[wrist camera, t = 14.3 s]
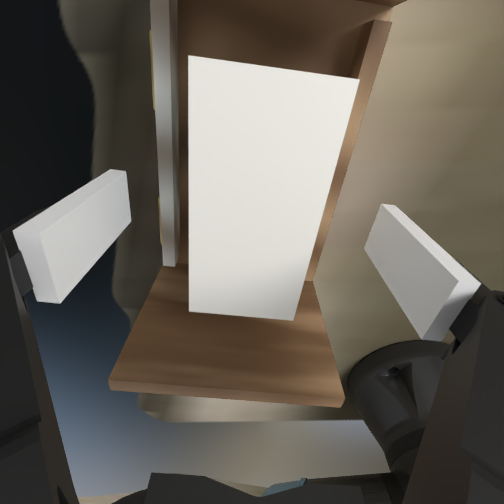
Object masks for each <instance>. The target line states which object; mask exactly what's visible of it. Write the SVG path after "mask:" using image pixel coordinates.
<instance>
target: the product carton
mask: <svg viewBox="0 0 504 504" xmlns="http://www.w3.org/2000/svg"><path fill="white" fill-rule="evenodd" d="M359 81H360V79H352V78H345V77H338V76H331V75H324V74H317V73H310V72H303V71H296V70H289V69H282V68H275V67H268V66H261V65H254V64H247V63H239V62H232V61H225V60H218V59H211V58H204V57H197V56H190V55H188V129H189V311H190V312H201V313H212V314H224V315H235V316H246V317H257V318H269V319H280V320H291V321H293V320H294V316H295V313H296V309H297V306H298V302H299V298H300V295H301V291H302V287H303V284H304V280H305V277H306V273H307V269H308V266H309V262H310V259H311V255H312V251H313V248H314V244H315V240H316V237H317V233H318V230H319V226H320V222H321V219H322V215H323V211H324V208H325V204H326V201H327V197H328V193H329V190H330V186H331V182H332V179H333V175H334V172H335V168H336V164H337V161H338V157H339V154H340V150H341V146H342V143H343V139H344V135H345V132H346V128H347V125H348V121H349V117H350V114H351V110H352V106H353V103H354V99H355V96H356V92H357V88H358V85H359Z"/></svg>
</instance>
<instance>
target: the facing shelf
mask: <svg viewBox="0 0 504 504" xmlns="http://www.w3.org/2000/svg"><path fill="white" fill-rule="evenodd" d="M404 1H407V0H150V16H151V30H149V35H150V54H151V73H152V91H153V109H155V115H156V135H157V154H158V174H159V194H160V196H159V198H158V204H159V222H160V241H161V244H162V254H163V264H162V266H161V269H160V271H159V273H158V275H157V277H156V279H155V281H154V283H153V285H152V288H151V290H150V292H149V294H148V296H147V298H146V300H145V302H144V305H143V307H142V309H141V311H140V313H139V315H138V317H137V319H136V321H135V324H134V326H133V328H132V330H131V332H130V334H129V336H128V338H127V341H126V343H125V345H124V347H123V349H122V351H121V353H120V356H119V358H118V360H117V362H116V364H115V366H114V368H113V370H112V372H111V375H110V377H109V379H108V382H109V386H110V390H118V391H130V392H143V393H156V394H169V395H182V396H195V397H208V398H221V399H234V400H247V401H260V402H273V403H286V404H300V405H313V406H326V407H339V408H341V406H342V404H343V402H344V400H345V396H344V392H343V388H342V385H341V381H340V378H339V374H338V370H337V367H336V363H335V360H334V356H333V353H332V349H331V345H330V342H329V338H328V335H327V331H326V328H325V324H324V320H323V317H322V313H321V310H320V306H319V303H318V299H317V295H316V292H315V288H314V285H313V278H314V274H315V271H316V268H317V265H318V262H319V258H320V255H321V252H322V249H323V245H324V242H325V239H326V236H327V232H328V229H329V226H330V223H331V219H332V216H333V213H334V210H335V206H336V203H337V200H338V197H339V193H340V190H341V187H342V184H343V180H344V177H345V174H346V171H347V167H348V164H349V161H350V158H351V154H352V151H353V148H354V145H355V142H356V138H357V135H358V132H359V129H360V125H361V122H362V119H363V116H364V112H365V109H366V106H367V103H368V99H369V96H370V93H371V90H372V86H373V83H374V80H375V77H376V73H377V70H378V67H379V64H380V60H381V57H382V54H383V51H384V47H385V44H386V41H387V38H388V34H389V31H390V28H391V25H392V22H389V19H390V15H391V12H392V9H393V7H394V6H396V5H398V4H400V3H402V2H404ZM188 55H190V56H197V57H204V58H211V59H218V60H225V61H232V62H239V63H247V64H254V65H261V66H268V67H275V68H282V69H289V70H296V71H303V72H310V73H317V74H324V75H331V76H338V77H345V78H352V79H360V81H359V85H358V88H357V92H356V96H355V99H354V103H353V106H352V110H351V114H350V117H349V121H348V125H347V128H346V132H345V135H344V139H343V143H342V146H341V150H340V154H339V157H338V161H337V164H336V168H335V172H334V175H333V179H332V182H331V186H330V190H329V193H328V197H327V201H326V204H325V208H324V211H323V215H322V219H321V222H320V226H319V230H318V233H317V237H316V240H315V244H314V248H313V251H312V255H311V259H310V262H309V266H308V269H307V273H306V277H305V280H304V284H303V287H302V291H301V295H300V298H299V302H298V306H297V309H296V313H295V316H294V320H293V321H291V320H280V319H269V318H257V317H246V316H235V315H224V314H212V313H201V312H190V311H189V129H188Z"/></svg>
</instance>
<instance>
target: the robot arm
mask: <svg viewBox="0 0 504 504" xmlns="http://www.w3.org/2000/svg"><path fill="white" fill-rule="evenodd" d="M130 222H131V214H130V204H129V195H128V185H127V176H126V171H120V170H112V169H110V170H108V171H107V172H105V173H104V174H102V175H100V176H99V177H97V178H96V179H94V180H92V181H91V182H90V183H88V184H86V185H85V186H83V187H81V188H80V189H78V190H77V191H75V192H73V193H72V194H70V195H69V196H67V197H65V198H64V199H62V200H61V201H59V202H57V203H56V204H54V205H53V206H51V207H47V208H44V209H42V210H38V211H36V212H34V213H33V214H31V215H29V216H28V217H27V218H24V219H23V220H21V221H20V222H19V223H16V224H15V225H13V226H11V227H10V228H8V229H6V230H5V231H3V232H1V233H0V504H79V501H78V498H77V495H76V492H75V489H74V485H73V482H72V479H71V474H70V470H69V466H68V462H67V458H66V454H65V450H64V446H63V443H62V439H61V435H60V431H59V427H58V423H57V419H56V415H55V411H54V408H53V403H52V399H51V395H50V391H49V388H48V383H47V379H46V376H45V372H44V368H43V364H42V360H41V356H40V352H39V348H38V344H37V340H36V336H35V333H34V328H33V324H32V320H31V316H30V313H29V308H28V305H27V302H26V299H25V297H24V295H25V294H26V293H27V292H29V291H30V289H32V288H33V290H34V293H35V296H36V299H37V301H40V302H50V303H61V302H62V301H63V300H64V298H65V297H66V296H67V295H68V293H70V292H71V290H72V289H73V288H74V287H75V286H76V284H77V283H78V282H79V281H80V280H81V279H82V278H83V276H84V275H85V274H86V273H87V272H88V271H89V270H90V268H91V267H92V266H93V265H94V264H95V263H96V261H97V260H98V259H99V258H100V257H101V256H102V254H103V253H104V252H105V251H106V250H107V249H108V248H109V246H110V245H111V244H112V243H113V242H114V241H115V240H116V238H117V237H118V236H119V235H120V234H121V233H122V231H123V230H124V229H125V228H126V227H127V226H128V225H129V223H130ZM364 250H365V251H366V253H367V255H368V256H369V258H370V259H371V261H372V262H373V264H374V266H375V267H376V269H377V270H378V272H379V273H380V275H381V277H382V278H383V280H384V281H385V283H386V284H387V286H388V288H389V289H390V291H391V292H392V294H393V295H394V297H395V299H396V300H397V302H398V303H399V305H400V306H401V308H402V310H403V311H404V313H405V314H406V316H407V317H408V319H409V321H410V322H411V324H412V325H413V327H414V328H415V330H416V331H417V333H418V335H419V336H420V338H421V339H422V340H419V341H409V342H403V343H398V344H394V345H391V346H388V347H385V348H383V349H380V350H378V351H376V352H374V353H372V354H371V355H369V356H368V357H366V358H365V359H363V360H362V361H361V362H360V363H359V364H358V365H357V366H356V367H355V368H354V369H353V371H352V372H351V374H350V377H349V380H348V388H349V392H350V395H351V398H352V402H353V404H354V406H355V408H356V410H357V411H358V413H359V414H360V415H361V417H362V419H363V420H364V422H365V423H366V425H367V426H368V428H369V430H370V431H371V433H372V434H373V435H374V437H375V439H376V440H377V442H378V443H379V445H380V446H381V448H382V450H383V451H384V454H385V457H386V460H387V463H388V466H389V468H390V471H391V472H390V473H380V474H378V473H377V474H365V475H355V476H354V475H353V476H342V477H329V478H317V479H307V478H301V480H300V481H293V482H286V483H280V484H275V485H272V486H270V487H269V488H268V489H267V490H266V491H265V492H264V494H263V495H262V497H255V496H252V495H250V494H247V493H245V492H242V491H240V490H237V489H235V488H232V487H230V486H228V485H225V484H223V483H220V482H218V481H215V480H213V479H210V478H208V477H205V476H195V475H180V474H165V473H164V474H163V473H151V476H150V480H149V484H148V488H147V489H145V490H142V491H138V492H136V493H133V494H131V495H128V496H126V497H123V498H121V499H120V500H118V501H116V502H114V503H112V504H504V292H502V291H496V290H494V291H491V290H489V289H488V288H487V287H486V286H485V285H484V284H483V283H482V282H481V281H479V280H478V279H477V278H476V277H475V276H474V275H473V274H471V272H469V271H468V270H467V269H466V268H464V266H463V265H462V264H461V263H460V262H458V261H457V260H456V259H455V258H453V257H451V256H450V255H449V254H448V253H447V252H446V251H445V250H444V249H442V248H441V247H440V246H439V245H438V244H437V243H436V242H435V241H434V240H433V239H431V238H430V237H429V236H428V235H427V234H426V233H425V232H424V231H423V230H422V229H420V228H419V227H418V226H417V225H416V224H415V223H414V222H413V221H412V220H411V219H409V218H408V217H407V216H406V215H405V214H404V213H403V212H402V211H401V210H400V209H398V208H397V207H396V206H395V205H387V204H381V205H380V208H379V211H378V213H377V216H376V218H375V221H374V223H373V226H372V229H371V231H370V234H369V236H368V239H367V241H366V244H365V247H364ZM449 329H450V331H451V332H452V333H453V334H454V336H455V337H456V338H455V339H454V341H453V342H452V343H451V345H448V344H446V343H442V342H437V341H442V339H443V338H444V336H445V335H446V334H447V332H448V331H449ZM428 340H432V341H428Z"/></svg>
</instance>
